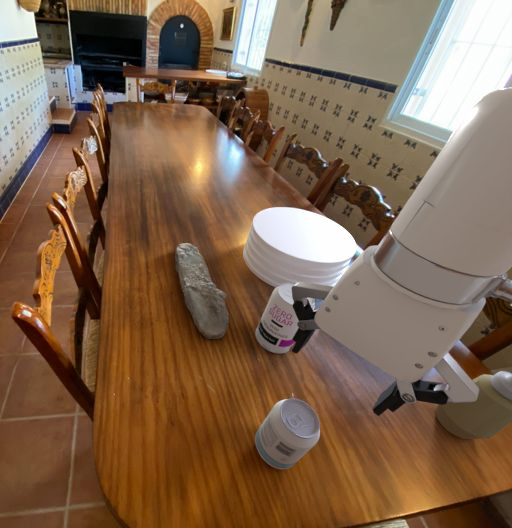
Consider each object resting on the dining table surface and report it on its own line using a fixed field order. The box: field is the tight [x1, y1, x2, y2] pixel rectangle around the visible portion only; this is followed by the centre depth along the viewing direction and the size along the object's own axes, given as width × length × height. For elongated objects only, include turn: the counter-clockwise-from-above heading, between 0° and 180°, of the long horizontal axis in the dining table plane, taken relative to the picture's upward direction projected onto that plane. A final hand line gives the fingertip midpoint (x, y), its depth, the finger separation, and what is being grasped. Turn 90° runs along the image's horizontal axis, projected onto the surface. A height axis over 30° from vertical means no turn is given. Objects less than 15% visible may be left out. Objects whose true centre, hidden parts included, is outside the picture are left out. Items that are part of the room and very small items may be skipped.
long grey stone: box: [174, 242, 230, 340], centre depth 78 cm, size 35×5×10 cm
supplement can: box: [254, 282, 316, 354], centre depth 63 cm, size 8×8×15 cm
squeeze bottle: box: [435, 370, 512, 440], centre depth 50 cm, size 8×8×18 cm
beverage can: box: [254, 397, 321, 470], centre depth 47 cm, size 7×7×12 cm
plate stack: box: [242, 206, 357, 289], centre depth 88 cm, size 28×28×12 cm
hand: (336, 373), depth 35 cm, fingers open, 9 cm apart
